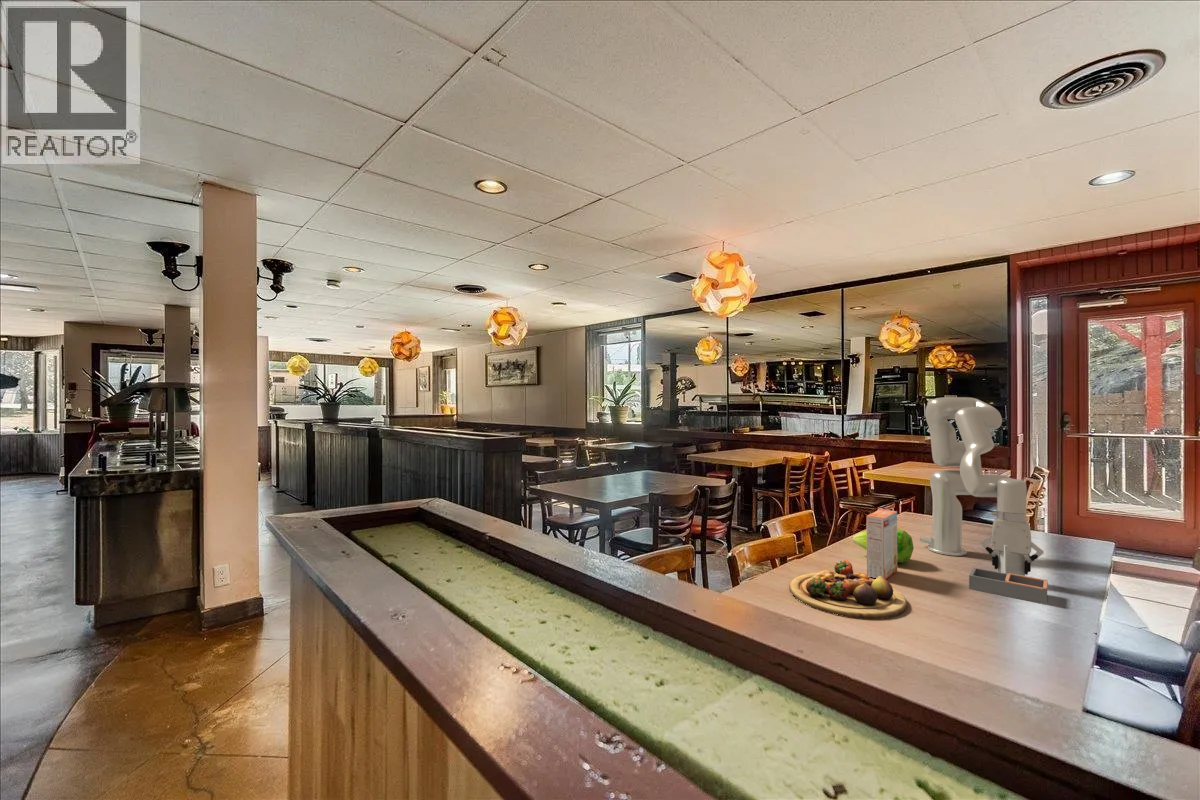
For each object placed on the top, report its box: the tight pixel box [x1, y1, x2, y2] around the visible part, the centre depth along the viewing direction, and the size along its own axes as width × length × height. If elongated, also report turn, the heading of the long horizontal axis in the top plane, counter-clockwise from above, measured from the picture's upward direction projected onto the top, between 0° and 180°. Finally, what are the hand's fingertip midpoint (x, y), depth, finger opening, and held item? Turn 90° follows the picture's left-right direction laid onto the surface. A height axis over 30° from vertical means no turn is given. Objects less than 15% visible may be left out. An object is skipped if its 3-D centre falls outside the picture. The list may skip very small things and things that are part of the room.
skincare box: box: [997, 545, 1026, 576], centre depth 169 cm, size 6×4×12 cm
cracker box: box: [865, 508, 898, 580], centre depth 175 cm, size 14×6×21 cm, turn 135°
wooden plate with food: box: [788, 559, 908, 620], centre depth 156 cm, size 32×32×8 cm
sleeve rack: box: [968, 567, 1048, 605], centre depth 160 cm, size 18×10×4 cm, turn 48°
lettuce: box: [852, 528, 915, 564], centre depth 191 cm, size 14×20×12 cm
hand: (1011, 570), depth 169 cm, fingers closed on skincare box, 7 cm apart
